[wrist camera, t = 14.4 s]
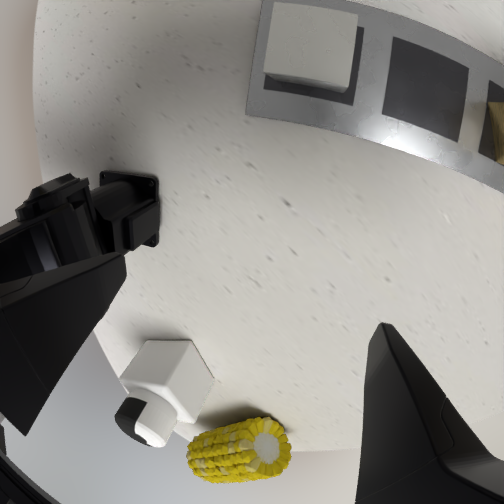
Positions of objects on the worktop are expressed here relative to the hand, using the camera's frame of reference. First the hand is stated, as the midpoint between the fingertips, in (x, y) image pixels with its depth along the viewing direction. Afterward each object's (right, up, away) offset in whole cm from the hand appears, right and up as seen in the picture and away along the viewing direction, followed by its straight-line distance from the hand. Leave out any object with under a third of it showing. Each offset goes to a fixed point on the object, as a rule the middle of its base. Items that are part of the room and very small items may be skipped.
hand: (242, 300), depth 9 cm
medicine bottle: (-8, -12, +24) cm, 28 cm away
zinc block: (+4, +14, +6) cm, 16 cm away
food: (-1, -25, +29) cm, 38 cm away
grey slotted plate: (+13, +12, +5) cm, 19 cm away
